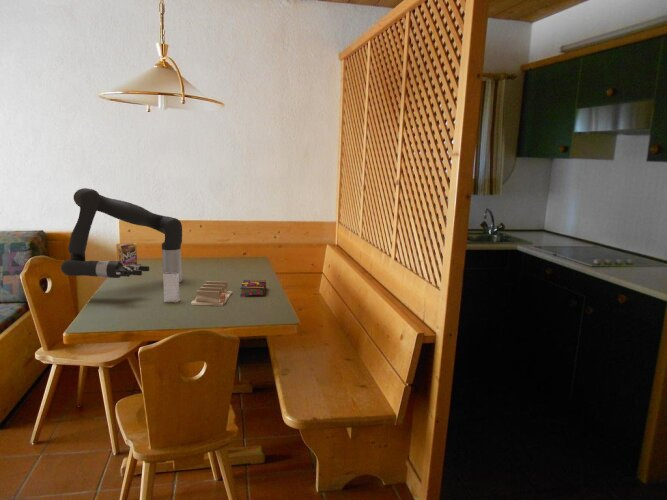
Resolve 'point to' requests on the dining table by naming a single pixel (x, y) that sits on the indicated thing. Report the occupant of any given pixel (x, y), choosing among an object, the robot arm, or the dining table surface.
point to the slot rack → (212, 294)
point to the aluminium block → (171, 287)
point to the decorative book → (253, 288)
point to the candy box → (127, 253)
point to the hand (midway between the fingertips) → (145, 270)
